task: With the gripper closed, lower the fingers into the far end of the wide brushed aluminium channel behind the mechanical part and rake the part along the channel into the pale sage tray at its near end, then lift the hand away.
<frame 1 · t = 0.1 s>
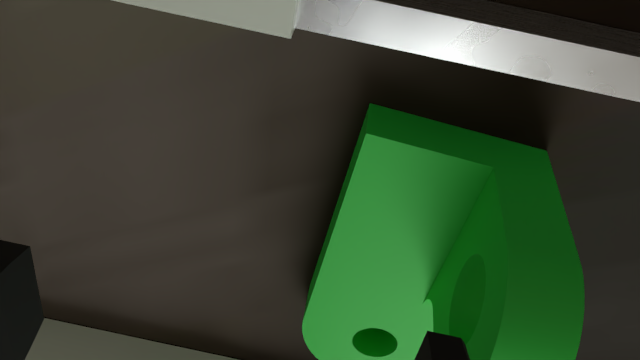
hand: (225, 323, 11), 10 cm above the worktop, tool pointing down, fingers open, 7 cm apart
slot rails: (269, 225, 23), on the worktop
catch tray: (269, 225, 23), on the worktop
mechanical part: (402, 245, 23), on the worktop
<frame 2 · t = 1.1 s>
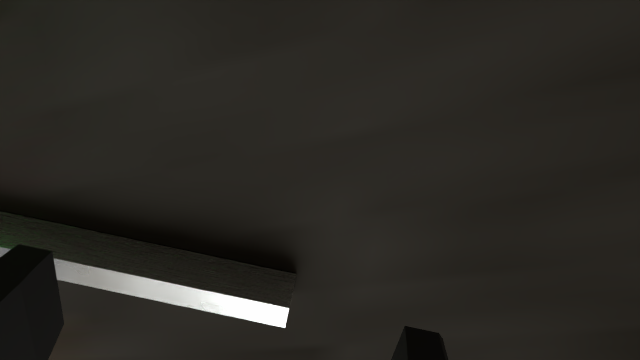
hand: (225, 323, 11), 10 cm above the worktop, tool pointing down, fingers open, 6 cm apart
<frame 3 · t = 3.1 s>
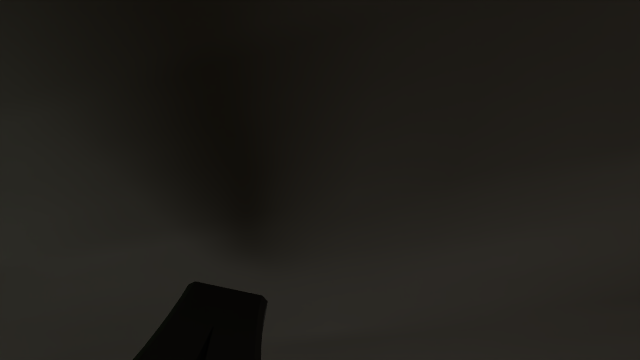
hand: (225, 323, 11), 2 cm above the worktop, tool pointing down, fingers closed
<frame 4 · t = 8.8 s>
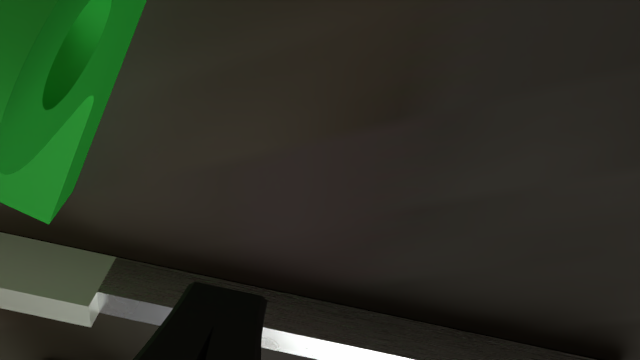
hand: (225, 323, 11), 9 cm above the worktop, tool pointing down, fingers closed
slot rails: (101, 47, 18), on the worktop
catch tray: (101, 47, 18), on the worktop
mechanical part: (32, 7, 18), on the worktop
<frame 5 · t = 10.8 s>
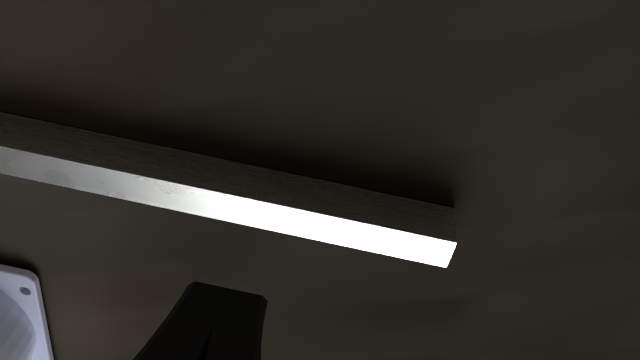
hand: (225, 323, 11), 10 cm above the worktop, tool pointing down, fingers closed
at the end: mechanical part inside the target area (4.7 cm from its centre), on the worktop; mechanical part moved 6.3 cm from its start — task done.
